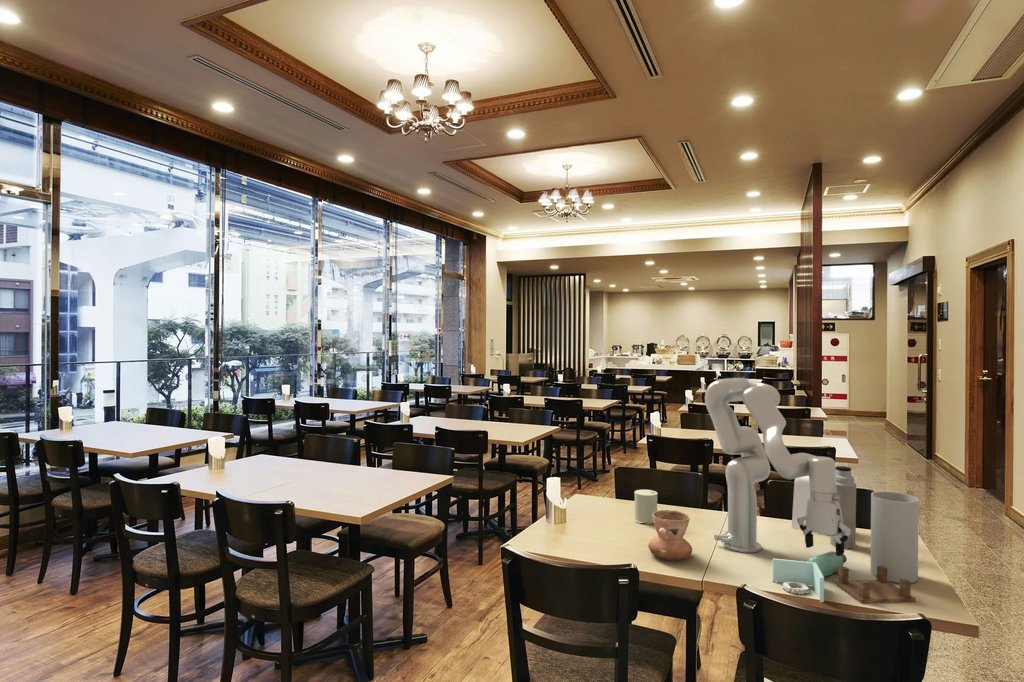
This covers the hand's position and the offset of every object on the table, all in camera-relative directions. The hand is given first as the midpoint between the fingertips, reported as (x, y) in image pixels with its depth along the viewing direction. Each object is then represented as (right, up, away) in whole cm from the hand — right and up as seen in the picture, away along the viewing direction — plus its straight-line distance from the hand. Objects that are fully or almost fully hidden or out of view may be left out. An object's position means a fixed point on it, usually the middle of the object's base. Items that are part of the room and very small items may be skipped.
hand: (824, 550), depth 190 cm
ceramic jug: (-44, -7, +16) cm, 48 cm away
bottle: (+2, -7, +2) cm, 8 cm away
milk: (+19, -7, +45) cm, 49 cm away
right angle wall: (-15, -8, -13) cm, 21 cm away
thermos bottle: (+20, -7, +26) cm, 34 cm away
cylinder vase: (+21, -8, -2) cm, 22 cm away
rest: (+7, -7, -14) cm, 17 cm away
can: (-45, -7, +54) cm, 70 cm away
